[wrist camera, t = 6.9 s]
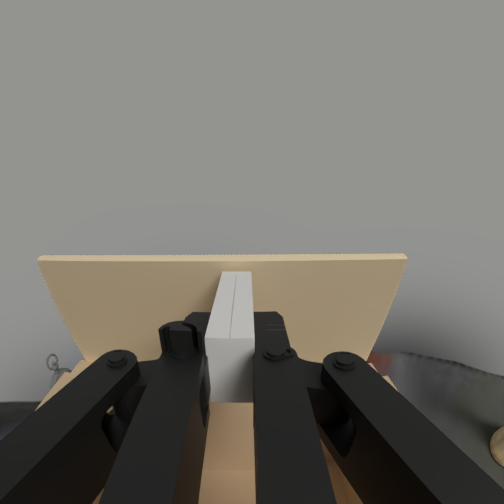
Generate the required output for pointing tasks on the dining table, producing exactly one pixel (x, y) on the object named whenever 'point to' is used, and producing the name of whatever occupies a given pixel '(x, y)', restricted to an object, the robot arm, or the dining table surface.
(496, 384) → the dining table surface
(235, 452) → the carton
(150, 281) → the carton flap
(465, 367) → the dining table surface
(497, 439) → the hand bell
